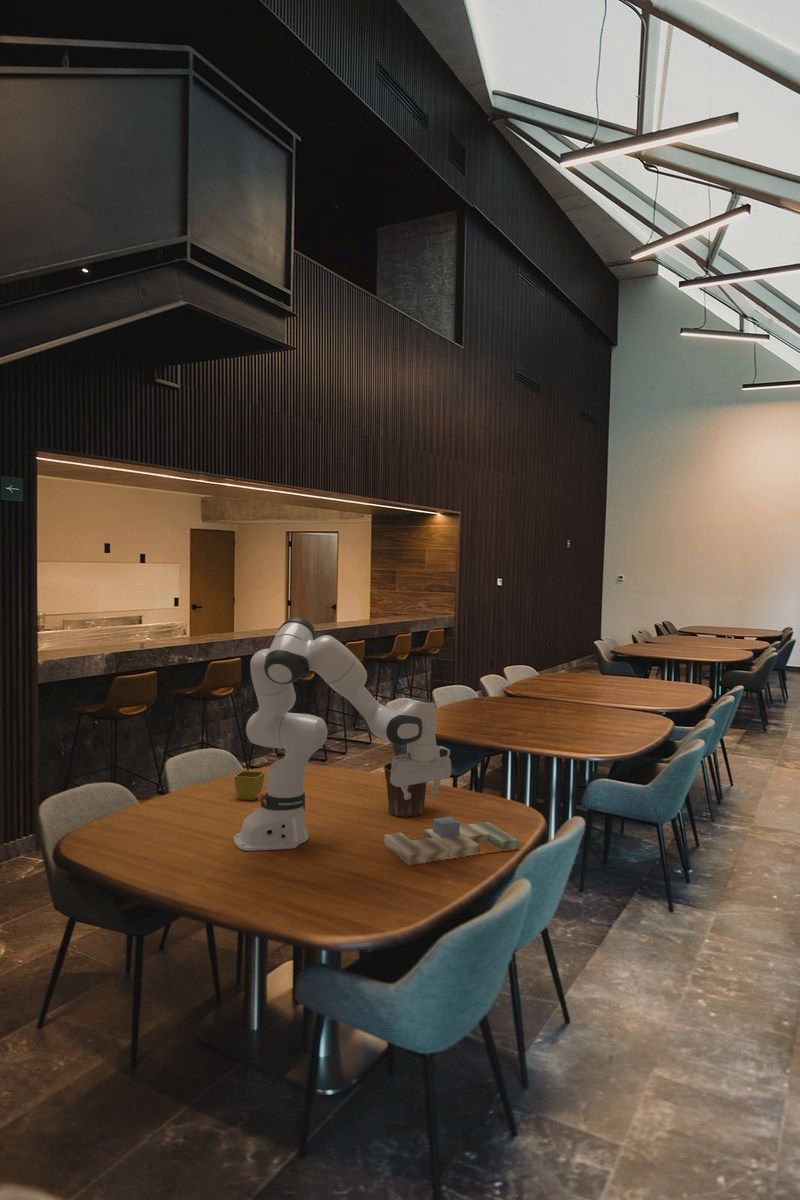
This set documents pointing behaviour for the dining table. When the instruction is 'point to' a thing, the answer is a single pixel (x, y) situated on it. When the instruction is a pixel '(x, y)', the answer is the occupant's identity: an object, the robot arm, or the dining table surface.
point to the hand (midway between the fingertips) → (420, 796)
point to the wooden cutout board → (448, 843)
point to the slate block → (446, 827)
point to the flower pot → (249, 784)
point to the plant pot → (396, 797)
